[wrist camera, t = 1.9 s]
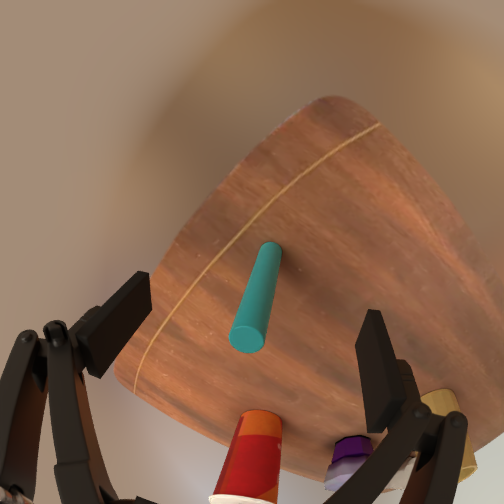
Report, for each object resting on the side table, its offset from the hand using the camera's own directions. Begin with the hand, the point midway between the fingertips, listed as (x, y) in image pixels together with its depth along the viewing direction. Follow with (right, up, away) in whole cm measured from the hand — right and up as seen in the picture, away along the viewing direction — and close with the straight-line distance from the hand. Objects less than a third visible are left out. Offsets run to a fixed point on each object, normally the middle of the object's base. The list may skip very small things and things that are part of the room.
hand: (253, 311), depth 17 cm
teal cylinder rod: (+1, +3, +7) cm, 8 cm away
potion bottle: (+15, -24, +17) cm, 33 cm away
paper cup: (+1, -18, +17) cm, 25 cm away
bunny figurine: (+27, -33, +19) cm, 47 cm away
